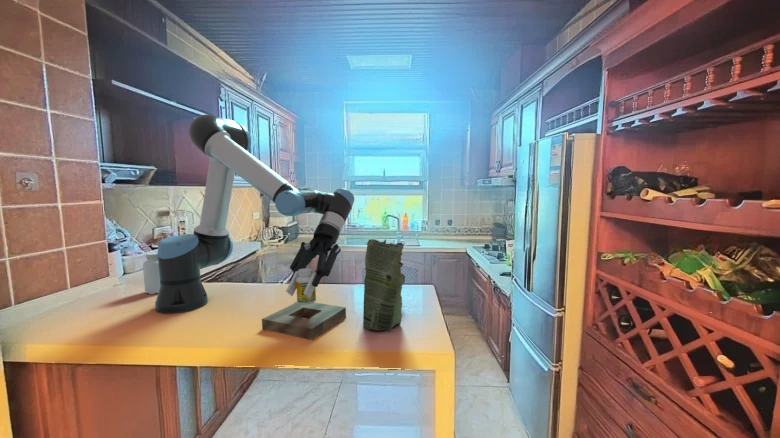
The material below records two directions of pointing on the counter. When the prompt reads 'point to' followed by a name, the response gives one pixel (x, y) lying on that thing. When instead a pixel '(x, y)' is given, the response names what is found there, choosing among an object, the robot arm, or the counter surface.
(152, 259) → the pill bottle
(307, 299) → the supplement bottle
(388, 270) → the pouch
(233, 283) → the counter surface
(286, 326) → the frame
